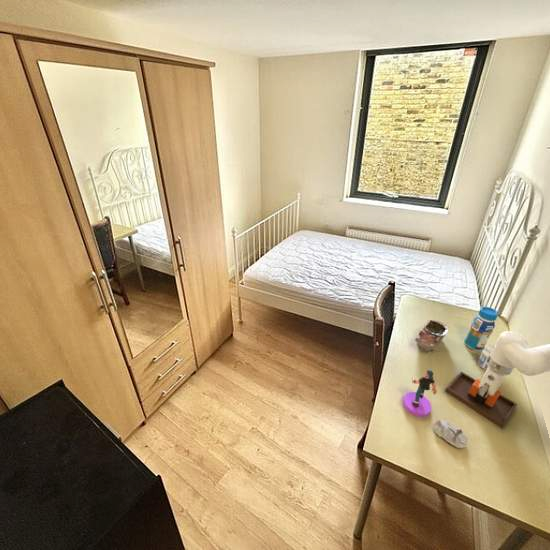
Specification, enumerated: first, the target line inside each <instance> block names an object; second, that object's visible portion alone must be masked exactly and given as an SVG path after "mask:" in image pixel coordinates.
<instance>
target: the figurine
mask: <svg viewBox="0 0 550 550" xmlns="http://www.w3.org/2000/svg"><path fill="white" fill-rule="evenodd" d="M411 381H412V384H418V387H417V390H416V391H408V392H407V393H405V394H404V396H403V399H402V405H403V407H404V409H405V411H407V413H409V414H411V415H412V416H414V417H416V418H427V417H428V416H429V415H430V413H431V411H432V404H431V403H430V400H429V399H428V398H427V397H426V396H425V391H430V390H431V392H432V394H433V395H434V396H435V395H436V394H437V393H438V389H437V386H436V385H437V384H436V381H435V380H434V371H433V370H432V369H427V370H426V372H425V374H424V376H422V377H421V378H419V379H418V380H417V379H416V378H413V377H412V378H411ZM430 386H432V387H430ZM431 388H432V389H431Z"/></svg>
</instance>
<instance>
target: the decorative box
mask: <svg viewBox="0 0 550 550" xmlns="http://www.w3.org/2000/svg"><path fill="white" fill-rule="evenodd" d="M449 328H450V326H448V325H447V324H445V323H444V322H442V321H440V320H436V319H433V318H431V319H427V320H426V321H425V323H424V325H423V328H422V329H421V330H419V333H418V334H417V335H416V337H415V339H414V341H415V342H416V346H417V347H418V348H420V350H421V351H426V352H431V351H435V350H436V348H437V347H438V345H439V344H440V343H441V342H442V340H444V338H445V337H446V335H447V333H448V332H449Z"/></svg>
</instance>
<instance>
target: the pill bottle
mask: <svg viewBox="0 0 550 550" xmlns="http://www.w3.org/2000/svg"><path fill="white" fill-rule="evenodd" d="M494 346H495V345H491V344H488V345H486V346H485V348H484V349H483V350H481V353H480V355H479V357H478V359H477V362H476V363H477V365H478V367H480V368H481V369H483V370H487V368H488V366H487V364H486V361H487V359H488V357H489V355H490V353H491V351H492V349H493V347H494Z"/></svg>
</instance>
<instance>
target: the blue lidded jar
mask: <svg viewBox="0 0 550 550" xmlns="http://www.w3.org/2000/svg"><path fill="white" fill-rule="evenodd" d="M498 316H499V312H498V311H497V310H496V309H494V308H492V307H490V306H482V307H480V309H479V310H478V313H477V315H476V316H475V317H474V318H473V319H472V320H473V321H472V322H471V323H470V327H469V329H468V332H467V334H466V336H465V337H464V340H463V343H464V345H465V346H466V347H467V348H469V349H471V350H473V351H478V352H480V351H481V352H482V351H483V349H485V348H486V346H487V345H486V344H487V342H488V340H489V338H490V337H491V335H492V334H493V332H494V329H495V327H496V324H495V321H496V320H497V319H498Z"/></svg>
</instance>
